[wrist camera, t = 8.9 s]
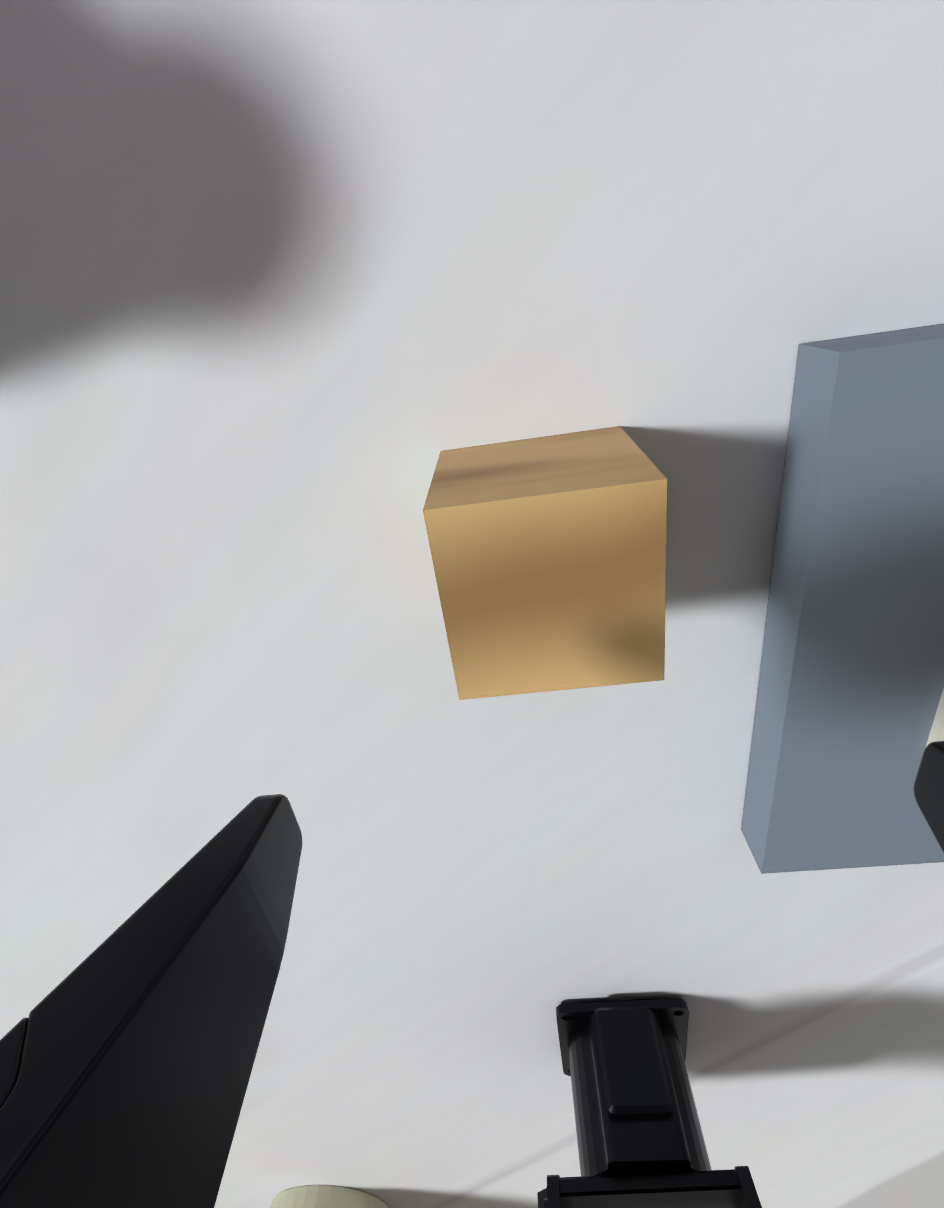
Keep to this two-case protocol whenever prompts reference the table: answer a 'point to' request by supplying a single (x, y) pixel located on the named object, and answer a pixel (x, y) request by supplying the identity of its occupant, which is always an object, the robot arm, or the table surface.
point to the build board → (853, 611)
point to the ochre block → (550, 562)
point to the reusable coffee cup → (325, 1198)
